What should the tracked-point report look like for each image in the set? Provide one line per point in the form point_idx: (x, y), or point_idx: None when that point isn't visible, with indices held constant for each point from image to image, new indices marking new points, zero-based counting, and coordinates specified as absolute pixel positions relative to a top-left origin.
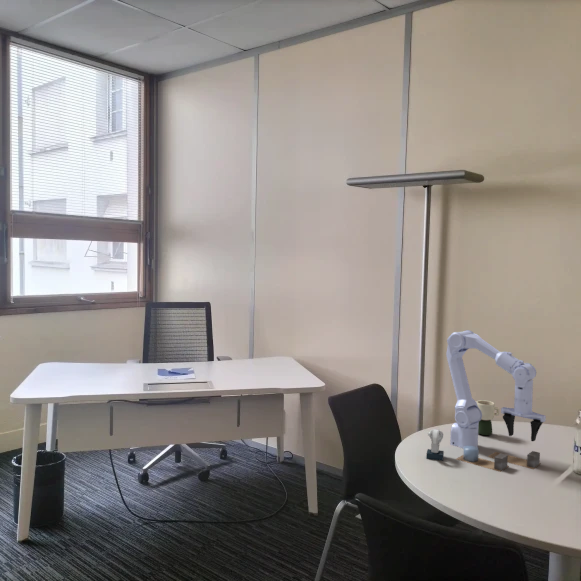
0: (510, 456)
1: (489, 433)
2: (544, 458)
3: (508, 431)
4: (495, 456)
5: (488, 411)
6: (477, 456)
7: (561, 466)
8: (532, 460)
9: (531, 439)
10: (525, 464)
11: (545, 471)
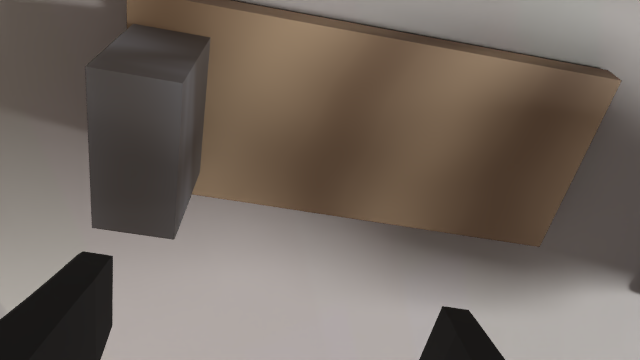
0: (402, 206)
1: None
2: (176, 336)
3: (500, 357)
4: (536, 134)
5: None
6: None
7: (18, 256)
8: (128, 51)
9: (95, 268)
10: (235, 81)
11: (64, 81)
